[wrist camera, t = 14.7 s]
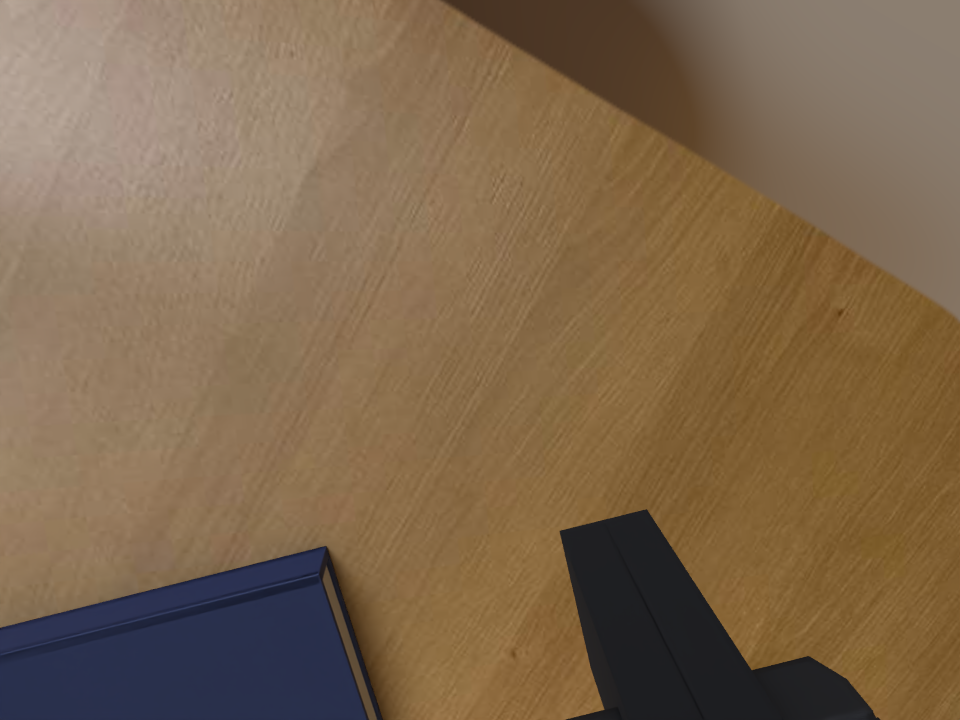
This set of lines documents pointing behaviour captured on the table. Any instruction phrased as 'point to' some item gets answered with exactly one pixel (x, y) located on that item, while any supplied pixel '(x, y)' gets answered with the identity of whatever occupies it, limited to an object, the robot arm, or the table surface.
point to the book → (196, 652)
